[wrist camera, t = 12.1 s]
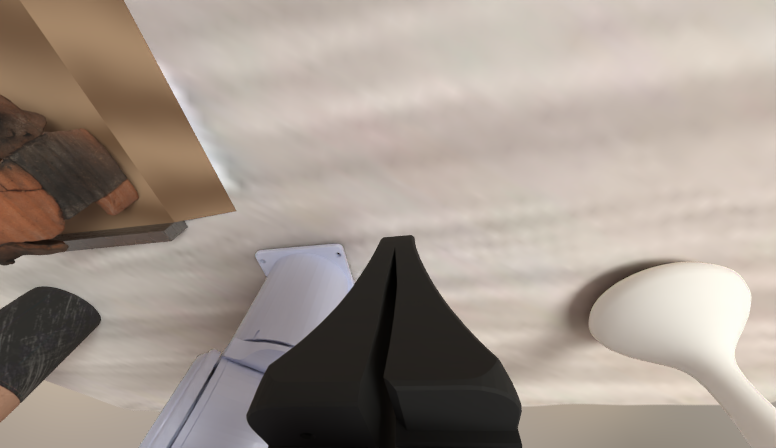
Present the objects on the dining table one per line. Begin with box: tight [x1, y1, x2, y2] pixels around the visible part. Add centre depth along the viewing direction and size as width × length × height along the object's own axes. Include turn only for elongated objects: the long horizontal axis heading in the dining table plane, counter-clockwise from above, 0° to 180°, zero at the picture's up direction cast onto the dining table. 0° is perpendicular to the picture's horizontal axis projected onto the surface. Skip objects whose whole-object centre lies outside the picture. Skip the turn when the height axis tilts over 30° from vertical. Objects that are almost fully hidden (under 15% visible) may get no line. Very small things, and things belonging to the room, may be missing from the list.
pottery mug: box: [0, 95, 139, 265], centre depth 18 cm, size 12×10×8 cm
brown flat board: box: [0, 0, 236, 235], centre depth 20 cm, size 16×20×2 cm
